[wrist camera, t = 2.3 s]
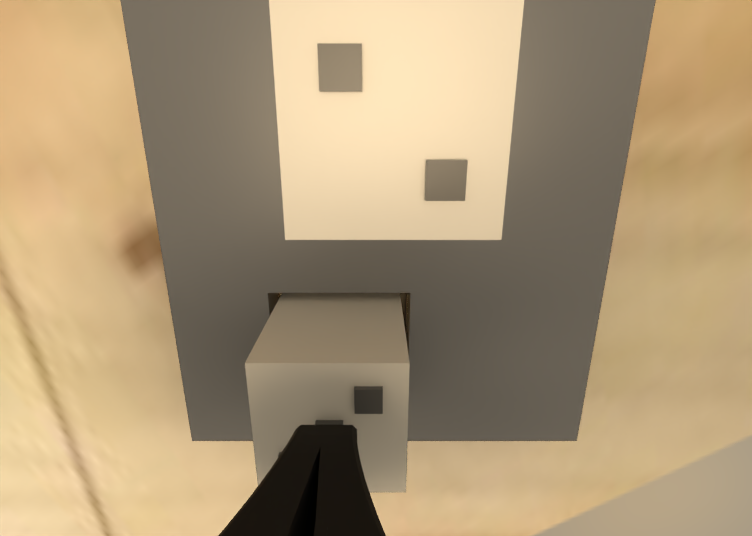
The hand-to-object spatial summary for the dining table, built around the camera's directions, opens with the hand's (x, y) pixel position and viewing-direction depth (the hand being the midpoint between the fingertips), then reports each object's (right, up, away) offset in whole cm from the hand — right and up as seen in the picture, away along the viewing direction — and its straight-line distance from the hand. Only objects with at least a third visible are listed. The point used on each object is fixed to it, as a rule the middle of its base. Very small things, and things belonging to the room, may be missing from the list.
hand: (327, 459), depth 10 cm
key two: (+1, +8, +2) cm, 9 cm away
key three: (0, +2, +6) cm, 6 cm away
